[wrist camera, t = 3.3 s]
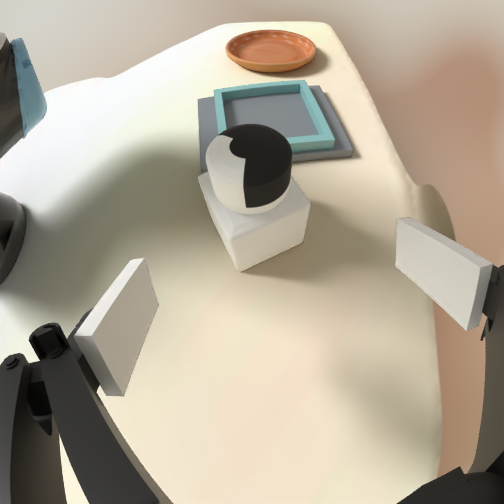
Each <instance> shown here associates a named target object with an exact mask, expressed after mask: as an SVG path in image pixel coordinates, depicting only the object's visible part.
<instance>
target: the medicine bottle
mask: <svg viewBox="0 0 504 504" xmlns="http://www.w3.org/2000/svg"><path fill="white" fill-rule="evenodd" d="M205 158H206V165H207V168H208V172H205V173H203V174H201V175H199V177H198V181H199V184H200V187H201V190H202V192H203V195H204V198H205V201H206V204H207V207H208V210H209V213H210V216H211V218H212V221H213V223H214V225H215V227H216V229H217V231H218V233H219V235H220V237H221V239H222V241H223V243H224V245H225V247H226V249H227V251H228V253H229V255H230V257H231V259H232V261H233V263H234V265H235V267H236V269H237V271H239V272H242V271H244V270H246V269H248V268H250V267H252V266H255V265H257V264H259V263H261V262H263V261H265V260H267V259H269V258H271V257H274V256H276V255H278V254H280V253H282V252H284V251H286V250H288V249H290V248H292V247H295V246H297V245H299V244H301V243H302V242H303V239H304V235H305V230H306V225H307V221H308V216H309V211H310V206H311V203H310V201H309V199H308V198H307V196H306V195H305V194H304V192H303V191H302V189H301V188H300V186H299V185H298V184H297V182H296V181H295V180H294V178H293V177H292V175H291V165H292V149H291V146H290V143H289V142H288V140H287V139H286V138H285V137H284V136H283V135H282V134H281V133H279V132H278V131H276V130H275V129H273V128H270V127H268V126H265V125H260V124H242V125H237V126H234V127H231V128H229V129H227V130H225V131H223V132H221V133H220V134H219V135H218V136H217V137H216V138H215V139H214V140H213V141H212V142H211V143H210V145H209V147H208V149H207V152H206V157H205Z"/></svg>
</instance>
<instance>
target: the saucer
mask: <svg viewBox="0 0 504 504" xmlns="http://www.w3.org/2000/svg"><path fill="white" fill-rule="evenodd" d="M226 53H227V55H228V57H229V58H230V59H231V60H232V61H234V62H235V63H237V64H239V65H241V66H243V67H245V68H247V69H250V70H254V71H259V72H285V71H291V70H294V69H297V68H299V67H301V66H303V65H305V64H307V63H308V62H310V61H311V60H312V59H313V58H314V57H315V54H316V46H315V44H314V43H313V42H312V41H311V40H310V39H308V38H306V37H304V36H302V35H299V34H296V33H293V32H288V31H282V30H258V31H251V32H247V33H243V34H240V35H238V36H236V37H234V38H232V39H231V40H230V41H229V42H228V43H227V45H226Z"/></svg>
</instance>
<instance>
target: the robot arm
mask: <svg viewBox="0 0 504 504" xmlns="http://www.w3.org/2000/svg"><path fill="white" fill-rule="evenodd" d="M46 111H47V103H46V100H45V97H44V94H43V91H42V89H41V86H40V83H39V81H38V78H37V76H36V73H35V71H34V68H33V65H32V64H31V60H30V58H29V55H28V52H27V49H26V46H25V44H24V42H23V40H22V38H18V39H16V40H15V39H14V40H12V41H11V42H10V43H9V41H8V39H7V38H6V36H5V34H4V33H0V159H1V158H2V157H3V156H4V155H5V154H6V153H7V152H8V151H9V150H10V149H11V148H12V147H13V146H14V145H15V144H16V143H17V142H18V141H19V140H20V139H21V138H23V139H24V138H25V137H26V135H27V133H28V132H29V131H30V130H31V129H32V128H33V127H35V126H36V125H37V124H38V123H39V122H40V121H41V120H42V119H43V118H44V116H45V114H46ZM25 226H26V217H25V212H24V209H23V207H22V206H21V205H20V204H19V203H18V202H17V201H16V200H15V199H14V198H12V197H11V196H8V195H6V194H3V193H0V283H1V282H2V281H3V280H4V278H5V277H6V276H7V274H8V273H9V271H10V270H11V268H12V266H13V264H14V262H15V260H16V258H17V256H18V254H19V251H20V248H21V245H22V242H23V238H24V233H25ZM395 266H396V267H397V268H398V269H399V270H400V271H401V272H403V273H404V274H405V275H406V276H407V277H408V278H410V279H411V280H412V281H413V282H414V283H415V284H416V285H418V286H419V287H420V288H421V289H422V290H423V291H424V292H425V293H426V294H428V295H429V296H430V297H431V298H432V299H433V300H434V301H436V303H437V304H439V305H440V306H441V307H442V308H443V309H444V310H445V311H446V312H447V313H448V314H449V315H450V316H451V317H452V318H454V319H455V321H457V322H458V323H459V324H460V325H461V326H462V327H463V328H464V329H465V330H466V331H467V330H470V329H472V328H474V327H476V326H478V325H479V322H480V319H481V315H482V313H484V314H485V315H486V316H487V320H486V323H485V327H484V330H483V333H482V336H481V341H482V340H483V338H484V337H485V339H486V365H485V366H486V367H485V388H484V402H483V411H482V419H481V427H480V433H479V439H478V445H477V450H476V455H475V459H474V462H473V464H472V466H471V468H470V470H469V472H468V473H467V474H464V473H463V471H462V469H461V468H460V467H458V468H456V469H454V470H452V471H450V472H449V473H447V474H445V475H443V476H441V477H439V478H437V479H435V480H433V481H431V482H429V483H426V484H424V485H422V486H421V487H420V488H418V489H417V490H416V491H414V492H413V493H412V494H410V495H409V496H407V497H406V498H404V499H403V500H401V501H400V502H398V503H397V504H504V265H502V266H500V267H499V268H497V267H496V266H494V265H493V264H492V263H491V262H489V261H487V260H486V259H484V258H482V257H481V256H479V255H477V254H476V253H474V252H472V251H471V250H469V249H467V248H465V247H464V246H462V245H460V244H458V243H457V242H455V241H453V240H451V239H449V238H448V237H446V236H444V235H442V234H440V233H438V232H436V231H435V230H433V229H431V228H429V227H427V226H425V225H423V224H421V223H419V222H417V221H415V220H413V219H411V218H409V217H405V218H398V219H397V234H396V262H395ZM158 306H159V304H158V301H157V298H156V295H155V292H154V288H153V285H152V282H151V278H150V275H149V272H148V268H147V265H146V261H145V258H139V259H133V260H130V262H129V263H128V264H127V265H126V267H125V268H124V269H123V270H122V272H121V273H120V274H119V276H118V277H117V278H116V279H115V281H114V282H113V283H112V284H111V286H110V287H109V288H108V290H107V291H106V292H105V294H104V295H103V296H102V298H101V299H100V300H99V302H98V303H97V304H96V306H95V307H94V308H92V309H91V310H90V311H88V312H87V313H86V314H85V315H84V316H83V317H82V319H81V320H80V323H78V324H77V325H76V328H74V330H73V331H72V332H71V334H70V335H69V337H68V338H67V339H66V337H65V335H64V333H63V331H62V329H61V327H60V325H59V324H58V323H48V324H45V325H43V326H41V327H39V328H37V329H36V330H35V331H34V332H33V333H32V334H31V335H30V337H29V342H30V344H31V345H32V347H33V349H34V351H35V353H36V355H37V356H38V358H39V360H40V361H37V362H33V363H28V361H27V360H26V358H25V356H24V355H23V354H20V353H17V354H13V355H10V356H8V358H5V359H4V361H3V362H2V363H1V365H0V504H67V501H66V495H65V489H64V482H63V475H62V466H61V456H60V444H59V434H60V437H61V440H62V443H63V445H64V448H65V451H66V453H67V456H68V458H69V461H70V463H71V466H72V468H73V470H74V473H75V475H76V477H77V479H78V481H79V484H80V486H81V488H82V490H83V492H84V494H85V496H86V498H87V500H88V502H89V504H173V503H172V502H171V500H170V499H169V498H168V497H167V496H166V494H165V493H164V492H163V491H162V490H161V488H160V487H159V486H158V485H157V483H156V482H155V481H154V480H153V478H152V477H151V476H150V474H149V473H148V472H147V470H146V469H145V468H144V466H143V465H142V464H141V462H140V461H139V459H138V458H137V457H136V455H135V454H134V452H133V451H132V449H131V448H130V446H129V445H128V443H127V442H126V440H125V439H124V437H123V436H122V434H121V433H120V431H119V430H118V428H117V426H116V425H115V423H114V421H113V420H112V418H111V416H110V415H109V413H108V411H107V409H106V408H105V406H104V404H103V402H102V401H101V399H100V397H99V396H98V394H97V389H98V387H99V385H100V386H101V388H102V389H103V391H104V393H105V394H106V396H124V394H125V392H126V389H127V386H128V383H129V380H130V378H131V375H132V372H133V369H134V367H135V364H136V361H137V359H138V356H139V353H140V351H141V348H142V346H143V343H144V341H145V338H146V335H147V333H148V330H149V328H150V325H151V323H152V320H153V318H154V316H155V313H156V311H157V308H158Z"/></svg>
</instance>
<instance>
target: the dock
mask: <svg viewBox="0 0 504 504" xmlns="http://www.w3.org/2000/svg"><path fill="white" fill-rule="evenodd" d="M198 118H199V140H200V159H201V170H202V174H203V173H205V172H208V168H207V165H206V158H205V157H206V152H207V149H208V147H209V145H210V143H211V142H212V141H213V140H214V139H215V138H216V137H217V136H218V135H219V134H220V133H221V132H223V131H225V130H227V129H229V128H231V127H234V126H237V125H242V124H260V125H265V126H268V127H270V128H273V129H275V130H276V131H278V132H279V133H281V134H282V135H283V136H284V137H285V138H286V139H287V140H288V142H289V143H290V146H291V149H292V162H299V161H308V160H318V159H328V158H340V157H352V153H353V148H352V146H351V144H350V142H349V140H348V138H347V136H346V134H345V132H344V130H343V128H342V126H341V124H340V122H339V120H338V118H337V116H336V114H335V112H334V111H333V109H332V107H331V105H330V103H329V102H328V100H327V98H326V96H325V94H324V93H323V91H322V89H321V87H320V86H308V85H307V83H306V81H305V80H295V81H281V82H270V83H260V84H251V85H243V86H236V87H229V88H223V89H217V90H214V96H213V97H208V98H202V99H198Z"/></svg>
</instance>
